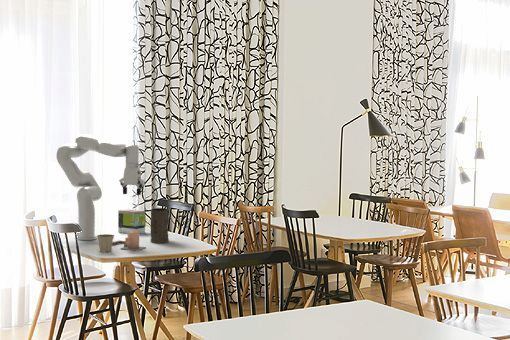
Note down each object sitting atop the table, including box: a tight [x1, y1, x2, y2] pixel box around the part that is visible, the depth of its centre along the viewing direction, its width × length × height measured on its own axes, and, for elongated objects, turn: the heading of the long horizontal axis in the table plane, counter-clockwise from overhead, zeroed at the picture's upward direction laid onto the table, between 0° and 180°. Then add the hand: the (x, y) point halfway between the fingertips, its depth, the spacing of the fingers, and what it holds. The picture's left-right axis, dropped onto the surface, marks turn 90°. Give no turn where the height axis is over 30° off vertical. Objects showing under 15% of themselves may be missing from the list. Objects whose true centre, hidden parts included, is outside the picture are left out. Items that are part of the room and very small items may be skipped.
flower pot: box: [96, 233, 115, 253], centre depth 346 cm, size 9×9×9 cm
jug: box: [124, 230, 140, 249], centre depth 353 cm, size 10×6×9 cm, turn 159°
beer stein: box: [150, 207, 170, 244], centre depth 380 cm, size 15×11×20 cm
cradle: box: [112, 240, 127, 248], centre depth 366 cm, size 11×10×2 cm
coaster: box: [120, 245, 147, 252], centre depth 355 cm, size 10×10×1 cm
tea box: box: [117, 208, 146, 235], centre depth 413 cm, size 15×10×15 cm, turn 58°
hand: (131, 194), depth 376 cm, fingers open, 9 cm apart
